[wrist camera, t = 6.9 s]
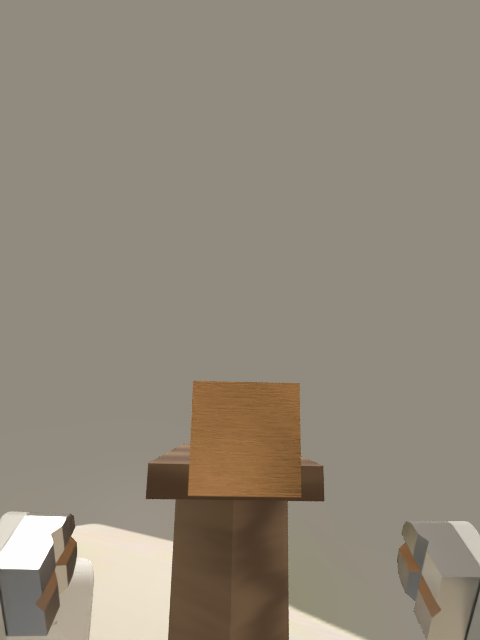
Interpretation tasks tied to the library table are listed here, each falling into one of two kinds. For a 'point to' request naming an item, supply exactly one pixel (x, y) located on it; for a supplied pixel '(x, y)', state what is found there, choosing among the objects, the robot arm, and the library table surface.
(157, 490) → the post
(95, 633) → the library table surface
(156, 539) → the library table surface
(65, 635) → the photo printer
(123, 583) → the library table surface
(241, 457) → the block
